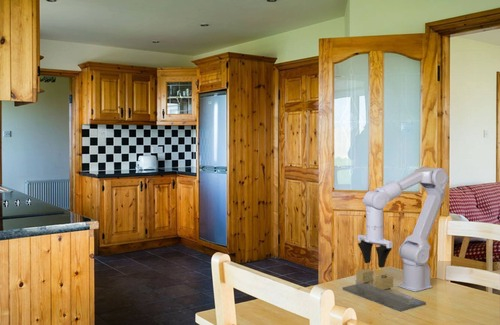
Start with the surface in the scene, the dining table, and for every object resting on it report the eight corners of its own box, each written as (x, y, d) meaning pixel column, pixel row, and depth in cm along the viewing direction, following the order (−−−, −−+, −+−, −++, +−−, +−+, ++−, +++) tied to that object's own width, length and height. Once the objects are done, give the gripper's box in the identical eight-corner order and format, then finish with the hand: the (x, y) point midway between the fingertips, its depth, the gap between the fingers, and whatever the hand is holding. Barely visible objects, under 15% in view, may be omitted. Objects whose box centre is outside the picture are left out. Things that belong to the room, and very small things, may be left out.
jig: (366, 284, 177) (367, 266, 177) (425, 304, 155) (426, 284, 155) (342, 289, 171) (342, 271, 171) (400, 311, 149) (400, 290, 149)
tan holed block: (386, 290, 167) (386, 273, 166) (393, 292, 164) (394, 275, 164) (375, 292, 164) (375, 276, 163) (382, 295, 161) (382, 278, 161)
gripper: (351, 223, 170) (351, 261, 171) (382, 230, 158) (382, 271, 158) (365, 222, 174) (365, 259, 174) (397, 228, 161) (396, 268, 162)
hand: (374, 264), depth 167 cm, fingers open, 6 cm apart
